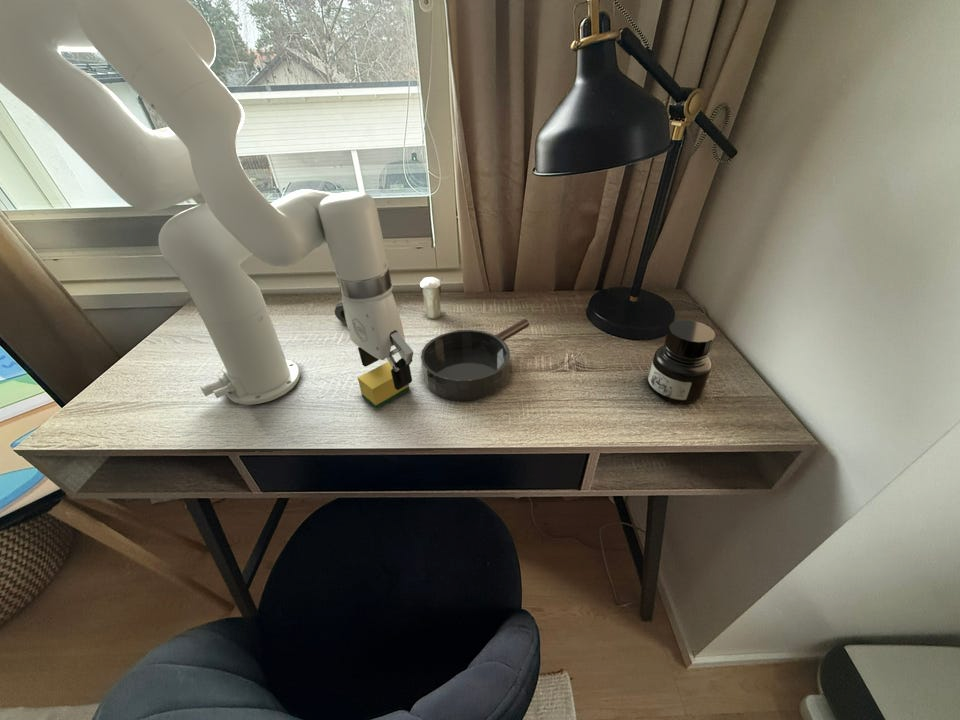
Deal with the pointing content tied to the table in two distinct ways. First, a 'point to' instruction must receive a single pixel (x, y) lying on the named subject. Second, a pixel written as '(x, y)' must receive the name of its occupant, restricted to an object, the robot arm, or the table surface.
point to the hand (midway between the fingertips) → (386, 373)
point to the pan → (465, 365)
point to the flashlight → (340, 312)
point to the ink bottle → (682, 362)
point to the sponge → (379, 386)
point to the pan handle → (513, 329)
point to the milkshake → (431, 296)
